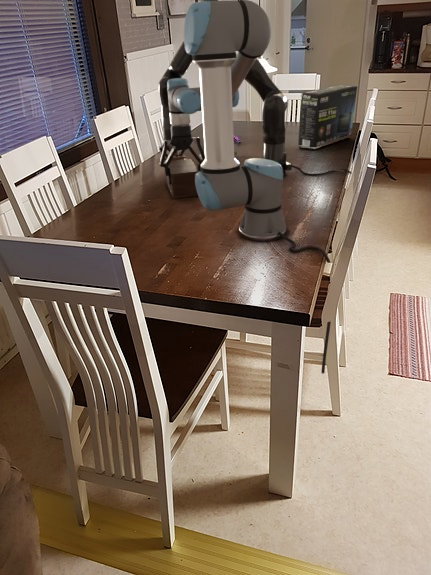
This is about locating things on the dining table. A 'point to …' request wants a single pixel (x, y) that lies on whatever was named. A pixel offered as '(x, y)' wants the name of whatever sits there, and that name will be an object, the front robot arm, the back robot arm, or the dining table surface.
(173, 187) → the taupe rectangular block
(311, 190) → the dining table surface
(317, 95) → the router box
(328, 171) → the back robot arm
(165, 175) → the drawer
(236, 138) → the handgun
